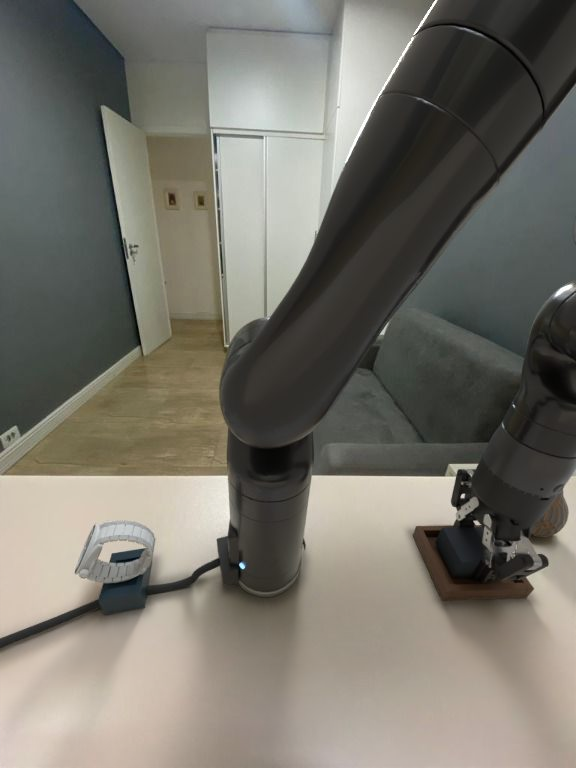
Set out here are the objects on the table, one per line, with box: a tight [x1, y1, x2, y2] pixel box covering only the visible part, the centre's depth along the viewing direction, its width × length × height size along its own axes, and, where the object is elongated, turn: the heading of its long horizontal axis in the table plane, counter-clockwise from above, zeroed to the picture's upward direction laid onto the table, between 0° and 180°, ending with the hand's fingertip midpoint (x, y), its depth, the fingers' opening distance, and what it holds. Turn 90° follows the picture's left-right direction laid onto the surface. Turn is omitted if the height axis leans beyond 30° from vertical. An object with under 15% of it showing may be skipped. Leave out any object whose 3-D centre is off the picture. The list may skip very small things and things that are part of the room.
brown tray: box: [412, 524, 535, 601], centre depth 43 cm, size 12×9×2 cm
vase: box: [531, 488, 570, 538], centre depth 48 cm, size 7×7×9 cm
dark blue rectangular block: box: [435, 527, 511, 578], centre depth 42 cm, size 7×5×4 cm
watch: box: [74, 519, 157, 616], centre depth 36 cm, size 6×8×11 cm
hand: (468, 557), depth 43 cm, fingers closed on dark blue rectangular block, 5 cm apart
